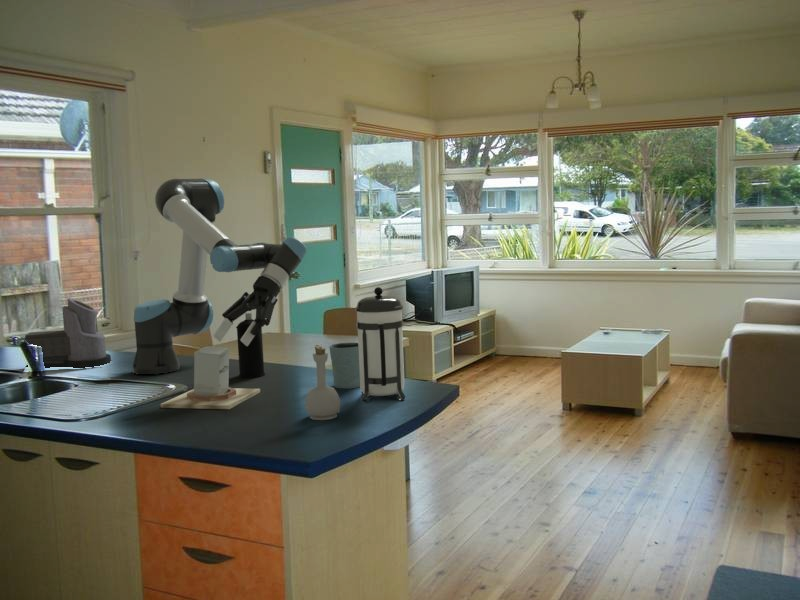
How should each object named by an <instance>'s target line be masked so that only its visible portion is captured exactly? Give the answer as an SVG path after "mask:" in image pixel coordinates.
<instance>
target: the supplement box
mask: <svg viewBox="0 0 800 600" xmlns="http://www.w3.org/2000/svg"><path fill="white" fill-rule="evenodd" d="M193 354H194V359H193V360H194V362H193V365H194V368H193V371H194V373H193V389H194V395H195V396H214V395H221V394H224V393H226V392H228V387H229V385H230V384H229V379H230V378H229V376H230V375H229V374H230V373H229V371H230V348H227V347H220V346H219V347H218V346H209V345H208V346H207V345H206V346H203V347H202V348H199V349H198V350H195V351H194V353H193Z"/></svg>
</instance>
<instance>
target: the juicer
mask: <svg viewBox="0 0 800 600" xmlns="http://www.w3.org/2000/svg"><path fill="white" fill-rule="evenodd" d="M66 299H67V306H66V305H65V306H62V307H61V308H62V321H63V329H62V330H51V331H50V330H49V331H48V330H47V331H34V332H33V331H32V332H28V333H27V334H24V338H23V339H25V340H26V341H27V342H28V343H29V344H33V345H37V346H41V347H42V352H43V362H44V366H45V368H50V367H73V368H85V367H94V366H100V365H104V364H107V363H110V361H112V359H111V357H112V356H111V354H109V353H107V348H106V336H105V335H104V334H103V333H102V332H100V331H99V328H98V319H97V317H98V315H99V314H98V310H97V309H95V308H94V307H92V306H90V305H88V304H86V303H85V302H82V301H80V300H77V299H75V298H71V297H68V298H66ZM25 367H28V365H27V364H26V365H25Z"/></svg>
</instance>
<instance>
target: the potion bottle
mask: <svg viewBox="0 0 800 600" xmlns="http://www.w3.org/2000/svg"><path fill="white" fill-rule="evenodd" d="M314 350H315V352H314V353H313V354H312V357H313V361H314V362H315V363H316V381H317V382H316V383H317V385H316V387H313V388H311V389H310V390H309V391H308V394H307V395H306V397H305V401H304V402H305V403H304V407H305V410H306V414H308V415H310V416H309V419H310V420H313V421H328V420H333V419H335V418H337V417H338V414H337V413H340V409H341V404H342V402H341V399H340V396H339V394H338V392H337V391H336V389H335V387H332V386H328V385H327V376H326V362H327V361H328V358H329V356H328V355H329V353H328V352H326V346H323V345H322V344H314Z"/></svg>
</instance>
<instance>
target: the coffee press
mask: <svg viewBox="0 0 800 600" xmlns="http://www.w3.org/2000/svg"><path fill="white" fill-rule="evenodd" d="M373 292H374V294H375V296H374V295H373V296H368V297H363V298H362V299H360V300H358V302H357V303H356V304H357V305H356V306H355V309H354V310H355V312H356V329H357V341H358V342H357V343H358V348H359V370H360V387H359V388H360V389H359V390H360V393H361V394H362V399H361V400H362V402H364V403H369V402H370V401H371V399H372V398H373V397H384V396H385V397H386V396H394V397H396V399H397V401H399V400H400V401H403V400H405V398H406V396H405V394H404V392H403V391H404V389H405V368H404V365H405V363H404V362H405V361H404V341H403V339H404V337H403V326H404V319H403V316H402V315H403V314H402V311H403V309H404V305H402V302H401V300H400V299H398V298H397V297H394V296H391V295H390V296H389V295H382V294H383V292H384V291H383V289H382V287H379V286H378V287H375V289H374V291H373Z"/></svg>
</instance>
